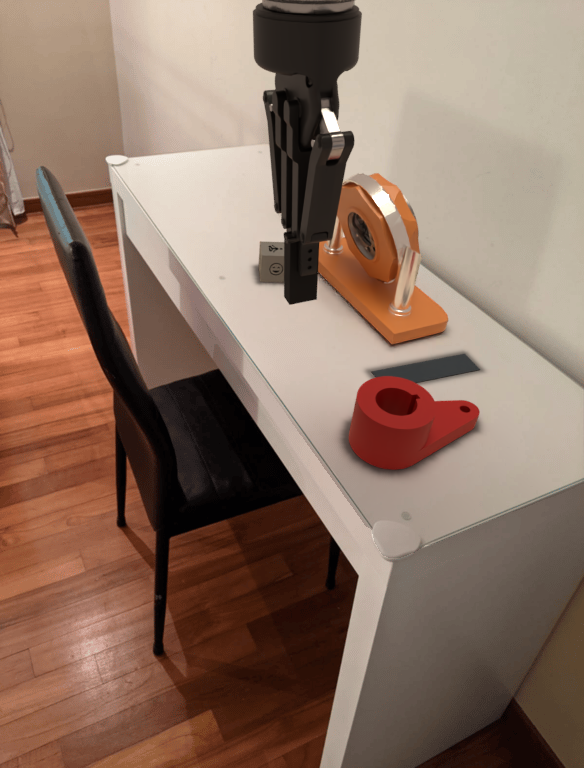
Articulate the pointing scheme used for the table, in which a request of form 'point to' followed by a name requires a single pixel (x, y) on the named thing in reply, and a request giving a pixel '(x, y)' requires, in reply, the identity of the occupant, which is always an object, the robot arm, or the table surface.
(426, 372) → the strip
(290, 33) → the robot arm
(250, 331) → the table surface
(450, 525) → the table surface
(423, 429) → the lever
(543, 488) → the table surface
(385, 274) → the desk clock
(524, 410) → the table surface
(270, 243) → the dice cube
